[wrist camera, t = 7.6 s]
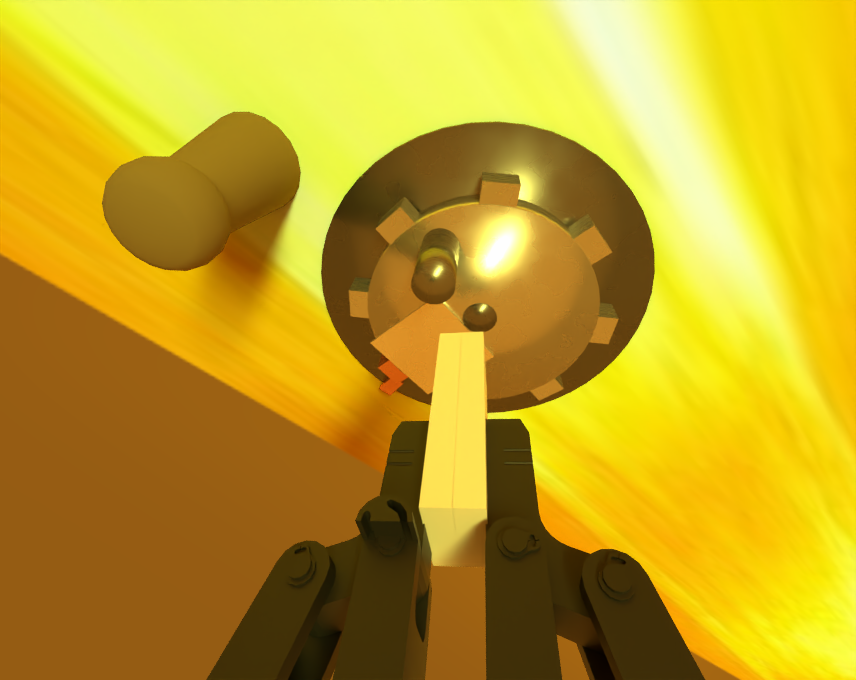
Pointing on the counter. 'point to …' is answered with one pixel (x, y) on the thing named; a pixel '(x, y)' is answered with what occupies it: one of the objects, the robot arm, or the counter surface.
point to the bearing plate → (461, 176)
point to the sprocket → (486, 288)
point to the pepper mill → (201, 192)
